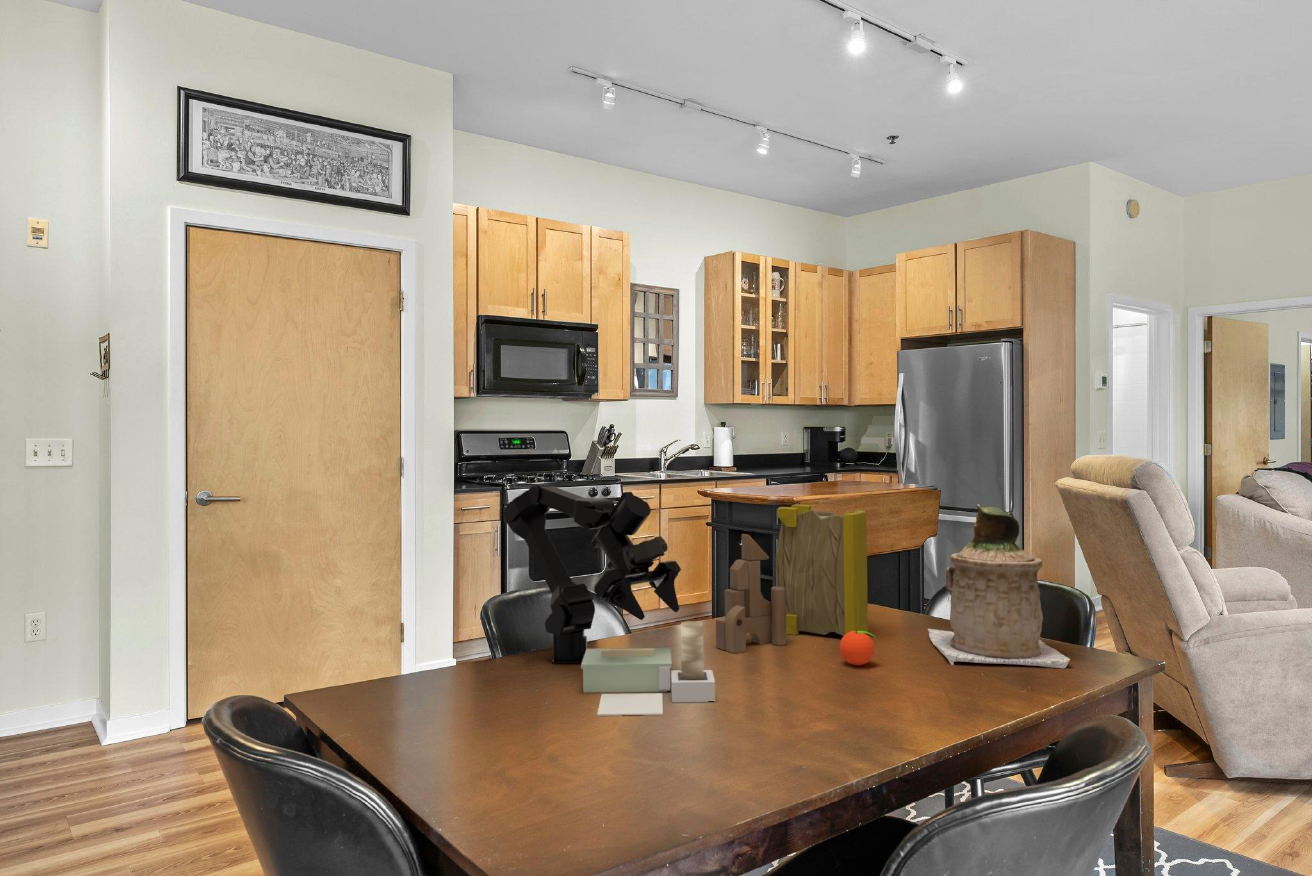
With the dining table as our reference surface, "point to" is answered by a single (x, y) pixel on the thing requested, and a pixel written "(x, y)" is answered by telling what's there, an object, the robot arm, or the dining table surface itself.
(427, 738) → the dining table surface
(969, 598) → the cookie jar
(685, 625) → the beige cylinder
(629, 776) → the dining table surface
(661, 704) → the mat
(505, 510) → the robot arm
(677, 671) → the pale green box
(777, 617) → the wooden toy
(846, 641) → the clementine
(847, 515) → the decorative book
